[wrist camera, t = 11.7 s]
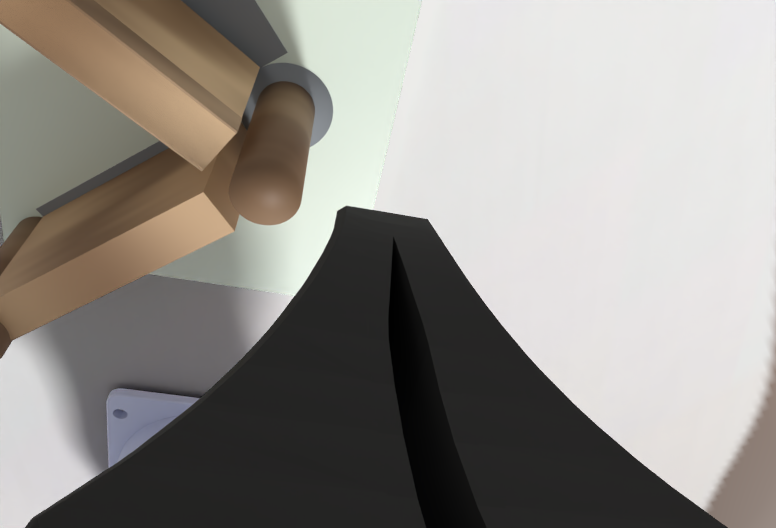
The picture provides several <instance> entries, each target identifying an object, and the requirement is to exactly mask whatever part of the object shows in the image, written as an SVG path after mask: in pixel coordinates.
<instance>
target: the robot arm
mask: <svg viewBox="0 0 776 528" xmlns="http://www.w3.org/2000/svg"><path fill="white" fill-rule="evenodd" d="M106 409H107V438H108V467H109V468H108V469H107V470H105V471H104V472H102V473H101V474H99V475H98V476H96V477H95V478H93V479H91V480H90V481H88V482H87V483H85V484H84V485H82V486H81V487H79V488H78V489H76V490H75V491H73V492H72V493H70V494H69V495H67V496H66V497H64V498H62V499H61V500H59V501H58V502H56V503H55V504H53V505H52V506H50V507H49V508H47V509H46V510H44V511H42V512H41V513H39V514H38V515H36V516H35V517H33V518H32V519H31V520H30V522H29V523H28V524H27V526H26V527H25V528H727V527H726V526H725V525H723V524H722V523H720V522H719V521H718V520H716V519H715V518H713V517H712V516H711V515H709V514H708V513H707V512H705V511H704V510H703V509H701V508H700V507H698V506H697V505H696V504H694V503H693V502H692V501H690V500H689V499H687V498H686V497H685V496H683V495H682V494H681V493H679V492H678V491H677V490H675V489H674V488H672V487H671V486H670V485H669V484H667V483H666V482H665V481H663V480H662V479H661V478H660V477H658V476H657V475H656V474H655V473H653V472H652V471H651V470H649V469H648V468H647V467H646V466H644V465H643V464H642V463H641V462H639V461H638V460H637V459H636V458H634V457H633V456H632V455H631V454H630V453H629V452H627V451H626V450H625V449H624V448H623V447H622V446H620V445H619V444H618V443H617V442H616V441H615V440H613V439H612V438H611V437H610V436H609V435H608V434H606V433H605V432H604V431H603V430H602V429H601V428H599V427H598V426H597V425H596V424H595V423H594V422H593V421H592V420H591V419H590V418H588V417H587V416H586V415H585V414H584V413H583V412H582V411H581V410H580V409H579V408H578V407H577V406H576V405H574V404H573V403H572V402H571V401H570V400H569V399H568V397H567V396H566V395H565V394H564V393H563V392H562V391H561V390H560V389H559V388H558V387H557V386H556V385H555V384H554V383H553V382H552V381H551V380H550V379H549V378H548V377H547V376H546V375H545V374H544V373H543V372H542V371H541V370H540V369H539V368H538V367H537V366H536V365H535V364H534V362H533V361H532V360H531V359H530V358H529V357H528V356H527V355H526V354H525V352H524V351H523V350H522V349H521V348H520V346H519V345H518V344H517V343H516V342H515V340H514V339H513V338H512V337H511V336H510V335H509V333H508V332H507V331H506V330H505V329H504V327H503V326H502V325H501V324H500V322H499V321H498V320H497V319H496V317H495V316H494V315H493V313H492V312H491V311H490V310H489V308H488V307H487V306H486V304H485V303H484V302H483V300H482V299H481V298H480V296H479V295H478V293H477V292H476V291H475V289H474V288H473V286H472V285H471V284H470V282H469V281H468V279H467V278H466V277H465V275H464V274H463V272H462V271H461V269H460V268H459V266H458V265H457V263H456V262H455V260H454V259H453V257H452V256H451V254H450V253H449V251H448V249H447V248H446V246H445V245H444V243H443V242H442V240H441V239H440V237H439V236H438V234H437V233H436V231H435V230H434V228H433V227H432V225H431V224H430V222H429V221H428V219H423V218H417V217H411V216H405V215H399V214H393V213H387V212H381V211H376V210H370V209H364V208H358V207H352V206H345V207H343V208H341V209H340V210H338V211H337V214H336V219H335V224H334V229H333V232H332V234H331V237H330V239H329V241H328V243H327V245H326V247H325V249H324V251H323V253H322V255H321V256H320V258H319V260H318V261H317V263H316V265H315V266H314V268H313V270H312V271H311V273H310V275H309V276H308V278H307V279H306V281H305V282H304V284H303V285H302V287H301V288H300V290H299V291H298V292H297V294H296V295H295V296H294V298H293V299H292V300H291V302H290V303H289V304H288V306H287V307H286V308H285V310H284V311H283V312H282V314H281V315H280V316H279V318H278V319H277V320H276V321H275V322H274V324H273V325H272V326H271V327H270V328H269V330H268V331H267V332H266V333H265V334H264V335H263V337H262V338H261V339H260V340H259V341H258V342H257V343H256V344H255V345H254V346H253V347H252V349H251V350H250V351H249V352H248V353H247V354H246V355H245V356H244V357H243V358H242V359H241V360H240V361H239V362H238V363H237V364H236V365H235V366H234V367H233V368H232V369H231V370H230V371H229V372H228V373H227V374H226V375H225V376H224V377H222V378H221V379H220V380H219V381H218V382H217V383H216V384H215V385H214V386H213V387H212V388H211V389H210V390H209V391H208V392H206V393H205V394H204V395H203V396H202V397H201V398H195V397H187V396H179V395H171V394H163V393H155V392H148V391H140V390H132V389H124V388H117V389H114V390H112V391H111V392H110V393H109V396H108V398H107V401H106ZM119 409H121V410H119ZM122 410H124V411H122Z"/></svg>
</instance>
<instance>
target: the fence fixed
mask: <svg viewBox="0 0 776 528" xmlns="http://www.w3.org/2000/svg"><path fill="white" fill-rule="evenodd" d="M314 116H315V106H314V102H313V99H312V97H311V96H310V94H309V93H308V92H307V91H306V90H305V89H304V88H303V87H301V86H300V85H298V84H295V83H293V82H288V81H279V82H275V83H272V84H270V85H268V86H267V87H266V88H264V89H263V91H262V92H261V93H260V95H259V97H258V100H257V103H256V106H255V109H254V112H253V115H252V118H251V121H250V124H249V127H248V130H246V128H245V127H244V126H243V124H242V123H241V124H240V126H239V129H238V132H237V133H236V134H235V135H234V136H233V137H232V139H231V140H230V141H229V142H228V143H227V144H226V145H225V146H224V147H223V149H222V150H221V151H220V152H219V153H218V154H217V155H216V156H215V157H214V159H213V160H212V161H211V162H210V163H209V164H208V165H207V166H206V167H205V168H204V170H203V171H200V170H199V169H198V168H196V167H195V166H194V165H192V164H191V163H190V162H188V161H187V160H185V159H184V158H183V157H181V156H180V155H179V154H177V153H176V152H174V151H173V150H172V149H170V148H168V149H166V150H164V151H163V152H161V153H159V154H157V155H155V156H153V157H152V158H150V159H148V160H146V161H144V162H142V163H141V164H139V165H137V166H135V167H133V168H131V169H129V170H128V171H126V172H124V173H122V174H120V175H118V176H117V177H115V178H113V179H111V180H109V181H107V182H106V183H104V184H102V185H100V186H98V187H96V188H95V189H93V190H91V191H89V192H87V193H85V194H84V195H82V196H80V197H78V198H76V199H74V200H73V201H71V202H69V203H67V204H65V205H63V206H62V207H60V208H58V209H56V210H54V211H52V212H50V213H49V214H47V215H45V216H43V217H28V218H25V219H23V220H22V221H20V222H19V224H18V225H17V226H16V227H15V229H14V230H13V231H12V233H11V234H10V235H9V237H8V238H7V239H6V241H5V242H4V243H3V244H2V246H1V247H0V359H1V358H2V356H3V355H4V353H5V352H6V350H7V348H8V347H9V345H10V344H11V342H12V340H14V339H16V338H18V337H20V336H22V335H24V334H26V333H29V332H31V331H33V330H35V329H37V328H39V327H41V326H43V325H45V324H47V323H49V322H51V321H53V320H55V319H57V318H59V317H61V316H63V315H65V314H67V313H69V312H71V311H73V310H75V309H77V308H79V307H82V306H84V305H86V304H88V303H90V302H92V301H94V300H96V299H98V298H100V297H102V296H104V295H106V294H108V293H110V292H112V291H114V290H116V289H118V288H120V287H122V286H124V285H126V284H128V283H130V282H132V281H135V280H137V279H139V278H141V277H143V276H145V275H147V274H149V273H151V272H153V271H155V270H157V269H159V268H161V267H163V266H165V265H167V264H169V263H171V262H173V261H175V260H177V259H179V258H181V257H183V256H186V255H188V254H190V253H192V252H194V251H196V250H198V249H200V248H202V247H204V246H206V245H208V244H210V243H212V242H214V241H216V240H218V239H220V238H222V237H224V236H226V235H228V234H230V233H232V232H234V231H235V228H236V225H237V221H238V218H239V214H240V215H241V216H242V217H244V218H245V219H247V220H248V221H251V222H253V223H256V224H260V225H277V224H281V223H283V222H286V221H288V220H289V219H290V218H292V217H293V216H294V215H295V214H296V213H297V211H298V209H299V207H300V205H301V201H302V194H303V188H304V181H305V175H306V168H307V162H308V155H309V149H310V142H311V136H312V129H313V123H314Z"/></svg>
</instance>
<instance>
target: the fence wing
mask: <svg viewBox="0 0 776 528" xmlns="http://www.w3.org/2000/svg"><path fill="white" fill-rule="evenodd" d="M0 24H1V25H3V26H4V27H5V28H7V29H8V30H9V31H11V32H12V33H14V34H15V35H16V36H18V37H19V38H20V39H22V40H23V41H24V42H26V43H27V44H29V45H30V46H31V47H33V48H34V49H35V50H37V51H38V52H39V53H41V54H42V55H44V56H45V57H46V58H48V59H49V60H50V61H52V62H53V63H54V64H56V65H57V66H59V67H60V68H61V69H63V70H64V71H65V72H67V73H68V74H69V75H71V76H72V77H74V78H75V79H76V80H78V81H79V82H80V83H82V84H83V85H84V86H86V87H87V88H89V89H90V90H91V91H93V92H94V93H95V94H97V95H98V96H99V97H101V98H102V99H104V100H105V101H106V102H108V103H109V104H110V105H112V106H113V107H114V108H116V109H117V110H119V111H120V112H121V113H123V114H124V115H125V116H127V117H128V118H129V119H131V120H132V121H134V122H135V123H136V124H138V125H139V126H140V127H142V128H143V129H144V130H146V131H147V132H149V133H150V134H151V135H153V136H154V137H155V138H157V139H158V140H159V141H161V142H162V143H164V144H165V145H166V146H168V147H169V148H170V149H172V150H173V151H174V152H176V153H177V154H179V155H180V156H181V157H183V158H184V159H185V160H187V161H188V162H190V163H191V164H192V165H194V166H195V167H196V168H198V169H199V170H200V171H203V170H204V168H205V167H206V166H207V165H208V164H209V163H210V162H211V161H212V160H213V159H214V157H215V156H216V155H217V154H218V153H219V152H220V151H221V150H222V149H223V147H224V146H225V145H226V144H227V143H228V142H229V141H230V140H231V139H232V137H233V136H234V135H235V134H236V133H237V132H238V129H239V126H240V124H241V121H242V116H243V113H244V110H245V107H246V105H247V102H248V99H249V96H250V94H251V91H252V88H253V85H254V82H255V80H256V77H257V74H258V71H259V69H260V67H259V66H258V65H257V64H256V63H255V62H253V61H252V60H251V59H250V58H249V57H247V56H246V55H245V54H244V53H243V52H242V51H240V50H239V49H238V48H237V47H236V46H234V45H233V44H232V43H231V42H230V41H229V40H227V39H226V38H225V37H224V36H223V35H221V34H220V33H219V32H218V31H217V30H216V29H214V28H213V27H212V26H211V25H210V24H208V23H207V22H206V21H205V20H204V19H203V18H201V17H200V16H199V15H198V14H197V13H195V12H194V11H193V10H192V9H191V8H190V7H188V6H187V5H186V4H185V3H184V2H182V1H181V0H0Z"/></svg>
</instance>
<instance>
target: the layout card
mask: <svg viewBox="0 0 776 528" xmlns="http://www.w3.org/2000/svg"><path fill="white" fill-rule="evenodd" d="M181 1H182V2H184V3H185V4H186V5H187V6H188V7H190V8H191V9H192V10H193V11H194V12H195V13H197V14H198V15H199V16H200V17H201V18H203V19H204V20H205V21H206V22H207V23H208V24H210V25H211V26H212V27H213V28H214V29H216V30H217V31H218V32H219V33H220V34H221V35H223V36H224V37H225V38H226V39H227V40H229V41H230V42H231V43H232V44H233V45H234V46H236V47H237V48H238V49H239V50H240V51H242V52H243V53H244V54H245V55H246V56H247V57H249V58H250V59H251V60H252V61H253V62H255V63H256V64H257V65H258V66H259V67H260V69H259V71H258V74H257V77H256V80H255V82H254V85H253V88H252V91H251V94H250V96H249V99H248V102H247V105H246V107H245V110H244V113H243V116H242V121H241V123H242V124H243V126H244V127H245V128H246V130H248V127H249V124H250V121H251V118H252V115H253V112H254V109H255V106H256V103H257V100H258V97H259V95H260V93H261V92H262V91H263V89H264V88H266V87H267V86H268V85H270V84H272V83H275V82H279V81H288V82H293V83H295V84H298V85H300V86H301V87H303V88H304V89H305V90H306V91H307V92H308V93H309V94H310V96H311V97H312V99H313V102H314V106H315V116H314V123H313V129H312V136H311V142H310V149H309V155H308V162H307V168H306V175H305V181H304V188H303V194H302V201H301V205H300V207H299V209H298V211H297V213H296V214H295V215H294V216H293V217H292V218H290V219H289V220H288V221H286V222H283V223H281V224H277V225H260V224H256V223H253V222H251V221H248V220H247V219H245V218H244V217H242V216H241V215H240V214H239V218H238V221H237V225H236V228H235V231H234V232H232V233H230V234H228V235H226V236H224V237H222V238H220V239H218V240H216V241H214V242H212V243H210V244H208V245H206V246H204V247H202V248H200V249H198V250H196V251H194V252H192V253H190V254H188V255H186V256H183V257H181V258H179V259H177V260H175V261H173V262H171V263H169V264H167V265H165V266H163V267H161V268H159V269H157V270H155V271H153V272H151V273H149V274H151V275H157V276H164V277H171V278H177V279H184V280H191V281H197V282H204V283H211V284H217V285H224V286H231V287H237V288H244V289H251V290H258V291H264V292H271V293H278V294H284V295H291V296H295V295H296V294H297V292H298V291H299V290H300V288H301V287H302V285H303V284H304V282H305V281H306V279H307V278H308V276H309V275H310V273H311V271H312V270H313V268H314V266H315V265H316V263H317V261H318V260H319V258H320V256H321V255H322V253H323V251H324V249H325V247H326V245H327V243H328V241H329V239H330V237H331V234H332V232H333V229H334V224H335V219H336V214H337V211H338V210H340V209H341V208H343V207H345V206H352V207H358V208H364V209H370V210H373V209H374V204H375V200H376V196H377V192H378V187H379V183H380V179H381V174H382V170H383V166H384V162H385V157H386V153H387V149H388V144H389V140H390V136H391V132H392V127H393V123H394V119H395V114H396V110H397V106H398V102H399V97H400V93H401V89H402V84H403V80H404V76H405V71H406V67H407V63H408V59H409V54H410V50H411V46H412V41H413V37H414V33H415V29H416V24H417V20H418V16H419V11H420V7H421V3H422V0H181ZM168 148H169V147H168V146H166V145H165V144H164V143H162V142H161V141H159V140H158V139H157V138H155V137H154V136H153V135H151V134H150V133H149V132H147V131H146V130H144V129H143V128H142V127H140V126H139V125H138V124H136V123H135V122H134V121H132V120H131V119H129V118H128V117H127V116H125V115H124V114H123V113H121V112H120V111H119V110H117V109H116V108H114V107H113V106H112V105H110V104H109V103H108V102H106V101H105V100H104V99H102V98H101V97H99V96H98V95H97V94H95V93H94V92H93V91H91V90H90V89H89V88H87V87H86V86H84V85H83V84H82V83H80V82H79V81H78V80H76V79H75V78H74V77H72V76H71V75H69V74H68V73H67V72H65V71H64V70H63V69H61V68H60V67H59V66H57V65H56V64H54V63H53V62H52V61H50V60H49V59H48V58H46V57H45V56H44V55H42V54H41V53H39V52H38V51H37V50H35V49H34V48H33V47H31V46H30V45H29V44H27V43H26V42H24V41H23V40H22V39H20V38H19V37H18V36H16V35H15V34H14V33H12V32H11V31H9V30H8V29H7V28H5V27H4V26H3V25H1V24H0V216H1V224H2V231H3V239H4V242H5V241H6V239H7V238H8V237H9V235H10V234H11V233H12V231H13V230H14V229H15V227H16V226H17V225H18V224H19V222H20V221H22V220H23V219H25V218H28V217H43V216H45V215H47V214H49V213H50V212H52V211H54V210H56V209H58V208H60V207H62V206H63V205H65V204H67V203H69V202H71V201H73V200H74V199H76V198H78V197H80V196H82V195H84V194H85V193H87V192H89V191H91V190H93V189H95V188H96V187H98V186H100V185H102V184H104V183H106V182H107V181H109V180H111V179H113V178H115V177H117V176H118V175H120V174H122V173H124V172H126V171H128V170H129V169H131V168H133V167H135V166H137V165H139V164H141V163H142V162H144V161H146V160H148V159H150V158H152V157H153V156H155V155H157V154H159V153H161V152H163V151H164V150H166V149H168Z"/></svg>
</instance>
